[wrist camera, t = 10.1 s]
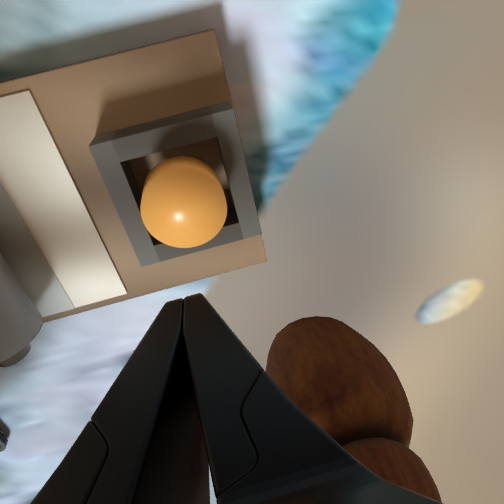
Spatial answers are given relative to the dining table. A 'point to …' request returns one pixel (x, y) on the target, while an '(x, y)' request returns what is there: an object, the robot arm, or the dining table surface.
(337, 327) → the wooden figurine
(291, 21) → the dining table surface
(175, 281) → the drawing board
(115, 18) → the dining table surface
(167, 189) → the button
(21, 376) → the dining table surface
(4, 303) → the cylinder
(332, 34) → the dining table surface
